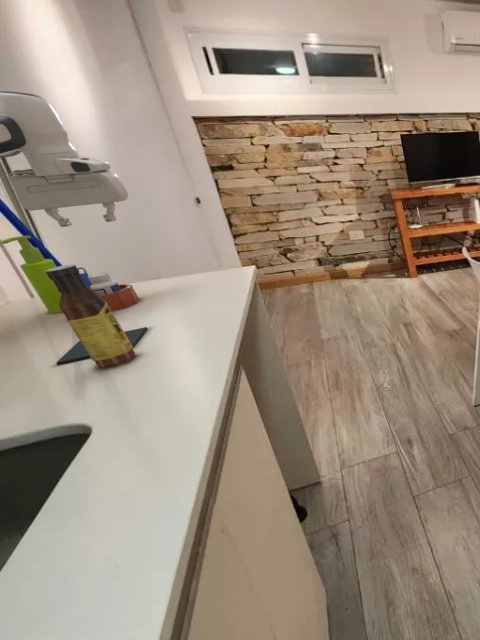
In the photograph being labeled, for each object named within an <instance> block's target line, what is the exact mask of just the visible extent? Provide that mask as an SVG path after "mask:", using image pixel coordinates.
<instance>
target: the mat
mask: <svg viewBox="0 0 480 640" xmlns="http://www.w3.org/2000/svg"><path fill="white" fill-rule="evenodd" d="M147 331H148V327H147V326H144V327H139V328H135V329H129V330H125V331H124V333H125V334H126V336H127V338H128V340H129V341H130V343H131V345H132V346H133V348H134V347H135V346H136V344H137V343H138V342H139V341H140V340H141V339H142V338H143V336H144V335H145V334H146V332H147ZM88 359H91V357H90V355H89V354H88V352H87V351H86V349H85V348H84V346H83V345H82V343H81V341H80V340H78V341H77V343H75V344H74V345H73V346H72V347H71V348H70V349H69V350H67V352H66V353H65V354H64V355H63V356H61V357H60V358H59V359H58V360H57V361H56V365H57V366H60V365H65V364H68V363H69V364H70V363H74V362H78V361H82V360H83V361H84V360H88Z"/></svg>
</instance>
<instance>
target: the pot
mask: <svg viewBox="0 0 480 640" xmlns="http://www.w3.org/2000/svg"><path fill="white" fill-rule="evenodd" d="M118 285H119V287H120V288H121V290H119V291H116V292H112V293H108V294H104V295H99V296H100V297H101V298H103V299H104V300H105V301H106V302H107V304H108V306H109V307H110V309H111V311H112V312H114V311H118V310H123V309H125V308H128V307H131V306H133V305H136V304H138V302H139V301H140V298H139V296H138V294H137V292H136V290H135V288H134V287H133V285H132V284H129V283H120V284H118Z"/></svg>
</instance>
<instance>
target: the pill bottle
mask: <svg viewBox="0 0 480 640" xmlns="http://www.w3.org/2000/svg"><path fill="white" fill-rule="evenodd" d="M87 279H88V281H89V282H90V283H91V285H90V286H89V288H90V289H92V290H93V291H94V292H95V293H96V294H98V295H104V294H108V293H112V292H116V291H119V290H121V288H120V287H119V285H120V284H119V282H118V281H116V280H115V279H111V276H110V274H109V272H106V271H105V272H99V273H94V274H91V275H88V276H87Z"/></svg>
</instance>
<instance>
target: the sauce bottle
mask: <svg viewBox="0 0 480 640" xmlns="http://www.w3.org/2000/svg"><path fill="white" fill-rule="evenodd" d="M46 273H47V275H48V277H49V278H50V279H51V280H53V282H54V284H55V285H56V287H57V288H58V291H59V292H60V293H61V299H60V309H61V311H62V312H61V313H63V315H64V317H65V318H66V321H67V323H68V324H69V326H70V327H71V329H72V331H73V332H74V334H75V335H76V337H77V338H78V341H81V343H82V345H83V346H84V348H85V349H86V351H87V352H88V354H89V355H90V357H91V358H90V359H91V361H93V362H94V363H95V364H96V366H97V367H98V368H110V367H111V368H112V367H114V366H118V365H121V364H123V363H126V362H129V361H130V360H131V359H133V358H135V356H136V351H135V350H134V347H133V346H132V345H131V343H130V341H129V340H128V338H127V336H126V334H125V333H124V332H125V331H124V329H123V327H122V326H121V324H120V323H119V321H118V319H117V317H116V315H115V314H114V311H111V309H110V307H109V306H108V304H107V302H106V301H105V300H104V299H103V298H101V297H100V296H99V295H98V294H96V293H95V292H94V291H93V290H92V289H91V288H90V286H88V285H87V283H86V282H85V281H84V278H83V277H82V275H81V274H80V269H79V268H78V267H77V265H76V264H74V263H73V264H65V265H60V266H56V267H55V268H52V269H48V270H46Z"/></svg>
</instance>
